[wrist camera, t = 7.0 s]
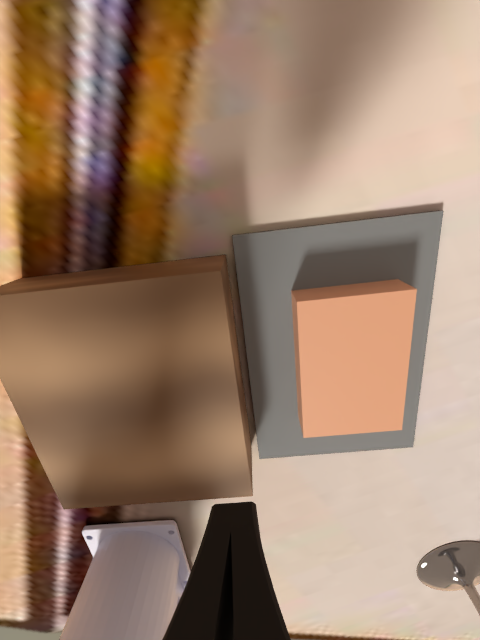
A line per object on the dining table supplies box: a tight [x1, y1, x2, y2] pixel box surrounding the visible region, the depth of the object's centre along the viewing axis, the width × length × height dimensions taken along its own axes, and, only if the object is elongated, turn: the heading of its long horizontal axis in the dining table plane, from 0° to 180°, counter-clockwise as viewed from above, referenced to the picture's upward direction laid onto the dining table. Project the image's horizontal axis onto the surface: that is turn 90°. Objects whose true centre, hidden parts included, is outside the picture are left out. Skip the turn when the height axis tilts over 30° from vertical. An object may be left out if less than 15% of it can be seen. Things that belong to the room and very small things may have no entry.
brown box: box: [0, 255, 253, 509], centre depth 18 cm, size 14×12×4 cm
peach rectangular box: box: [291, 279, 417, 438], centre depth 18 cm, size 9×6×2 cm, turn 7°
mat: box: [232, 211, 443, 459], centre depth 19 cm, size 16×11×1 cm
